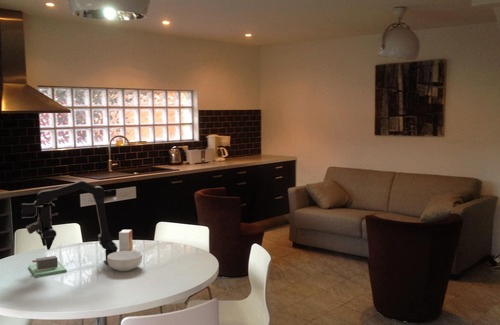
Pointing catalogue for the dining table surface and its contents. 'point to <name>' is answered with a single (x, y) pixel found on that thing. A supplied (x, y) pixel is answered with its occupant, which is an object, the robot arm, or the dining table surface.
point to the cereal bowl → (124, 260)
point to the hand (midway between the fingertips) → (46, 247)
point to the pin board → (47, 270)
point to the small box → (125, 240)
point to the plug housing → (46, 262)
